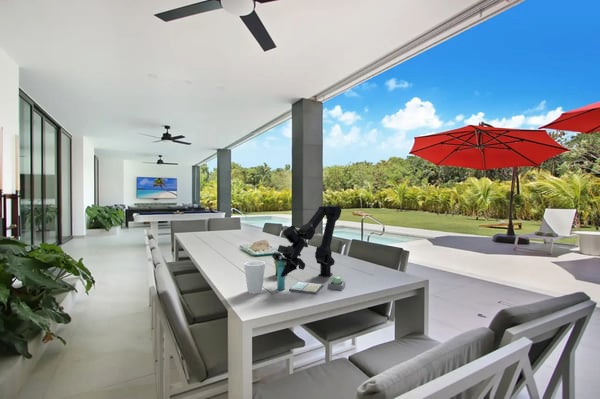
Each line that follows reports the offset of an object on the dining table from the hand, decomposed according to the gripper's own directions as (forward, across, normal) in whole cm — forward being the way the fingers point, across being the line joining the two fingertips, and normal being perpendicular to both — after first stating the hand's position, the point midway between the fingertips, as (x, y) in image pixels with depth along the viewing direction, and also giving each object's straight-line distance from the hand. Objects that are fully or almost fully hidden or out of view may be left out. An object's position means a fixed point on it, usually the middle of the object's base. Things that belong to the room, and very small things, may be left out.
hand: (278, 275), depth 132 cm
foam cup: (+11, -6, -2) cm, 13 cm away
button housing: (-11, +16, +21) cm, 29 cm away
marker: (+4, 0, +6) cm, 7 cm away
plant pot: (-7, -18, +17) cm, 26 cm away
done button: (-13, +16, +20) cm, 28 cm away
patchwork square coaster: (-3, +8, +12) cm, 15 cm away
